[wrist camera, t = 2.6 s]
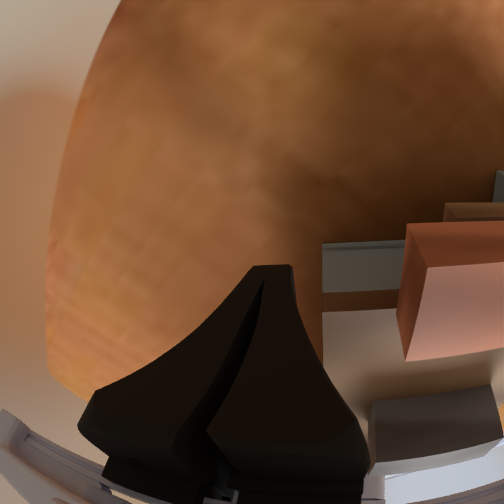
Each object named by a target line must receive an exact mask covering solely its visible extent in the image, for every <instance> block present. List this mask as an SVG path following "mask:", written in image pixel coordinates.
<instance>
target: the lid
mask: <svg viewBox="0 0 504 504" xmlns="http://www.w3.org/2000/svg"><path fill="white" fill-rule="evenodd" d="M467 221H504V203H501V202H470V203H445V207H444V216H443V222H467ZM399 290H400V289H389V290H372V291H353V292H330V293H322V328H323V367H324V369H325V371H326V373H327V374H328V376H329V378H330V380H331V381H332V383H333V384H334V386H335V388H336V389H337V391H338V392H339V394H340V395H341V397H342V398H343V400H344V401H345V402H346V404H347V405H348V407H349V408H350V409H351V411H352V412H353V413H354V414H355V416H356V417H357V419H358V421H359V424H360V427H361V429H362V432H363V434H364V437H365V440H366V442H367V446H368V449H369V453H370V460H371V466H370V469H369V471H368V477H370V476H382V475H391V474H400V473H407V472H414V471H420V470H426V469H432V468H437V467H442V466H447V465H451V464H456V463H460V462H464V461H468V460H471V459H475V458H479V457H483V456H484V455H485V454H487V453H488V452H489V451H490V450H491V449H492V448H493V447H495V446H496V445H497V444H498V443H499V442H500V441H501V440H502V439H503V438H504V435H503V430H502V426H501V421H500V417H499V413H498V409H499V408H500V407H501V405H502V404H503V403H504V347H502V348H497V349H492V350H487V351H481V352H475V353H469V354H463V355H456V356H449V357H442V358H434V359H426V360H417V361H407V362H405V358H404V353H403V347H402V342H401V337H400V332H399V327H398V322H397V318H396V309H397V303H398V296H399Z"/></svg>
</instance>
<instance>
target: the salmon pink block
mask: <svg viewBox="0 0 504 504" xmlns="http://www.w3.org/2000/svg"><path fill="white" fill-rule="evenodd" d="M396 318H397V322H398V327H399V332H400V337H401V342H402V347H403V353H404V358H405V362H407V361H417V360H426V359H434V358H442V357H449V356H456V355H463V354H469V353H475V352H481V351H487V350H492V349H497V348H502V347H504V221H467V222H435V223H409V224H407V229H406V240H405V251H404V260H403V268H402V276H401V283H400V290H399V296H398V303H397V309H396Z"/></svg>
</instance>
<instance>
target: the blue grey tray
mask: <svg viewBox="0 0 504 504" xmlns="http://www.w3.org/2000/svg"><path fill="white" fill-rule="evenodd" d="M492 202H501V203H504V171H501V170H496V178H495V186H494V194H493V201H492ZM404 251H405V240H388V241H367V242H347V243H327V244H322V293H330V292H353V291H372V290H389V289H400V283H401V276H402V268H403V260H404Z"/></svg>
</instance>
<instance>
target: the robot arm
mask: <svg viewBox="0 0 504 504" xmlns="http://www.w3.org/2000/svg"><path fill="white" fill-rule="evenodd" d="M77 426H78V430H79V431H80V433H81V434H82V435H83V436H84V437H85V438H86V439H87V440H88V441H90V442H91V443H92V444H93V445H95V446H96V447H97V448H99V449H100V450H101V451H103V452H104V453H105V454H107V455H108V456H109V458H108V460H107V463H106V465H105V466H102V465H100V464H97V463H95V462H93V461H90V460H88V459H86V458H84V457H82V456H80V455H77V454H75V453H73V452H71V451H69V450H67V449H65V448H63V447H61V446H59V445H57V444H55V443H53V442H52V441H50V440H48V439H46V438H44V437H42V436H41V435H39V434H37V433H35V432H34V431H32V430H30V428H29V427H28V426H26V425H25V424H24V423H23V422H22V421H21V420H19V419H18V418H17V417H15V416H14V415H12V414H11V413H9V412H8V411H6V410H5V409H1V411H0V473H1V475H3V477H4V478H5V479H6V480H7V481H8V482H9V483H10V484H11V485H12V486H13V488H14V489H15V490H16V491H17V492H18V493H19V494H20V495H22V497H23V498H24V499H25V500H26V501H27V502H28V503H29V504H131V503H130V502H128V501H126V500H123V499H121V498H119V497H117V496H114V495H112V492H111V490H110V489H112V490H114V491H117V492H119V493H122V494H124V495H127V496H129V497H132V498H135V499H137V500H140V501H143V502H146V503H149V504H385V500H384V492H385V475H382V476H370V477H368V471H369V469H370V466H371V460H370V453H369V449H368V446H367V442H366V440H365V437H364V434H363V432H362V429H361V427H360V424H359V421H358V419H357V417H356V416H355V414H354V413H353V412H352V411H351V409H350V408H349V407H348V405H347V404H346V402H345V401H344V400H343V398H342V397H341V395H340V394H339V392H338V391H337V389H336V388H335V386H334V384H333V383H332V381H331V380H330V378H329V376H328V374H327V373H326V371H325V369H324V367H323V366H322V364H321V362H320V361H319V359H318V357H317V355H316V353H315V351H314V349H313V347H312V344H311V342H310V340H309V338H308V336H307V333H306V331H305V328H304V326H303V323H302V320H301V317H300V315H299V312H298V308H297V303H296V294H295V286H294V277H293V269H292V267H291V266H290V265H289V264H284V265H260V266H253V267H252V268H251V269H250V270H249V271H248V272H247V274H246V275H245V276H244V277H243V279H242V280H241V281H240V282H239V284H238V285H237V286H236V287H235V288H234V290H233V291H232V292H231V293H230V294H229V295H228V296H227V298H226V299H225V300H224V301H223V302H222V303H221V304H220V306H219V307H218V308H217V309H216V310H215V311H214V312H213V313H212V314H211V315H210V316H209V317H208V318H207V319H206V320H205V321H204V322H203V323H202V324H201V325H200V326H199V327H198V328H197V329H195V330H194V331H193V332H192V333H191V334H190V335H188V336H187V337H186V338H185V339H184V340H182V341H181V342H180V343H178V344H177V345H176V346H174V347H173V348H172V349H170V350H169V351H167V352H166V353H164V354H163V355H162V356H160V357H159V358H157V359H156V360H154V361H153V362H151V363H149V364H148V365H146V366H144V367H143V368H141V369H139V370H137V371H136V372H134V373H132V374H130V375H128V376H126V377H124V378H122V379H120V380H118V381H116V382H114V383H112V384H109V385H107V386H105V387H103V388H101V389H98V390H96V391H95V392H94V394H93V396H92V397H91V399H90V401H89V403H88V405H87V407H86V409H85V411H84V413H83V415H82V417H81V418H80V420H79V422H78V425H77ZM109 488H110V489H109ZM408 504H504V479H502V480H499V481H496V482H493V483H490V484H487V485H484V486H481V487H478V488H475V489H471V490H468V491H464V492H461V493H457V494H453V495H449V496H444V497H440V498H435V499H430V500H425V501H420V502H414V503H408Z"/></svg>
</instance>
